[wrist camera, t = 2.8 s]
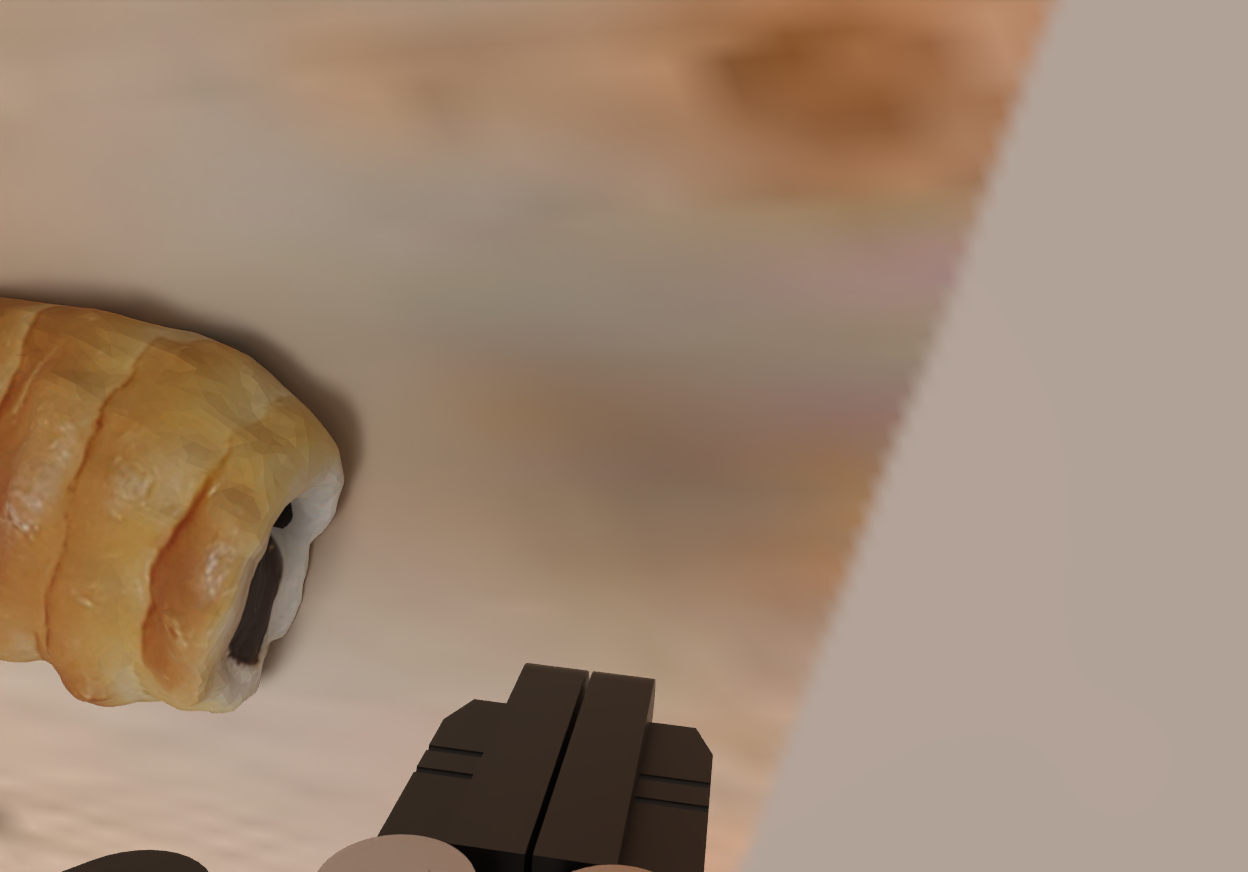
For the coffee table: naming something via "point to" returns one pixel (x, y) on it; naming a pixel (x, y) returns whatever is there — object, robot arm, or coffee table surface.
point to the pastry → (150, 506)
